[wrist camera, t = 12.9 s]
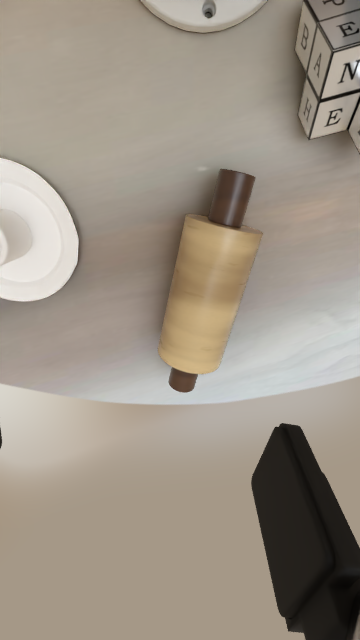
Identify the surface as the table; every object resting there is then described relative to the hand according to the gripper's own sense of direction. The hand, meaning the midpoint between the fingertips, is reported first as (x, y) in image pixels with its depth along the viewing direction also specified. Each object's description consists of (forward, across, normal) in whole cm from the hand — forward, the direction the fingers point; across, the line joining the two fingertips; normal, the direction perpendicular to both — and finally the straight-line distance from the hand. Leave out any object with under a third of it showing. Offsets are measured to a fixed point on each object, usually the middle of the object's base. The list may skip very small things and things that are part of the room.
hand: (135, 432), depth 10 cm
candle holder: (+19, +14, -1) cm, 24 cm away
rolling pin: (+19, -4, +1) cm, 19 cm away
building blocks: (+19, -10, -16) cm, 27 cm away
